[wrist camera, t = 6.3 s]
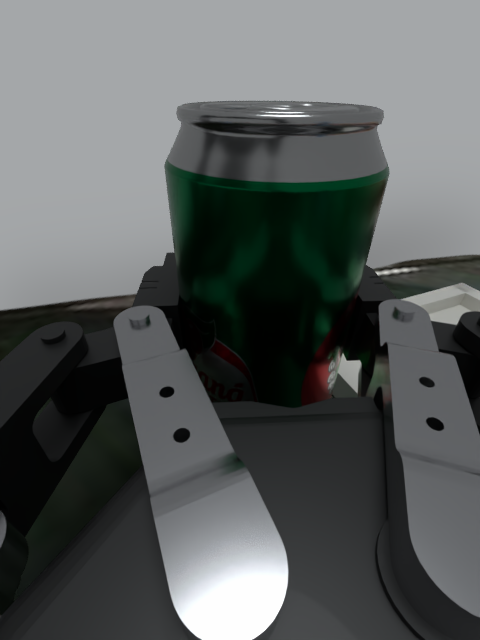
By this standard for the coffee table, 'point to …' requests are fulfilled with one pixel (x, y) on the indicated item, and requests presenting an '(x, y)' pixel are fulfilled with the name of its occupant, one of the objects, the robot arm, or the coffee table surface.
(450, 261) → the coffee table surface
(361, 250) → the soda can
